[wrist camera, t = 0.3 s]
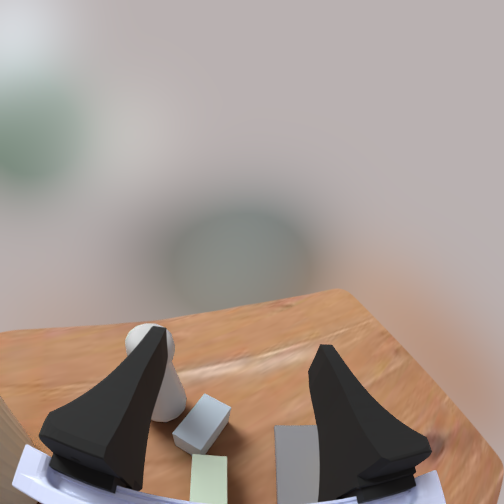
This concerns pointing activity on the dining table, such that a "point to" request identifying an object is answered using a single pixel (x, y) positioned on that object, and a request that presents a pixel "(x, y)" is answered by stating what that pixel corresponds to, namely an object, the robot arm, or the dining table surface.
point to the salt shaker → (171, 389)
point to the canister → (11, 456)
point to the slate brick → (202, 425)
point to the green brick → (208, 479)
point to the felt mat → (297, 464)
